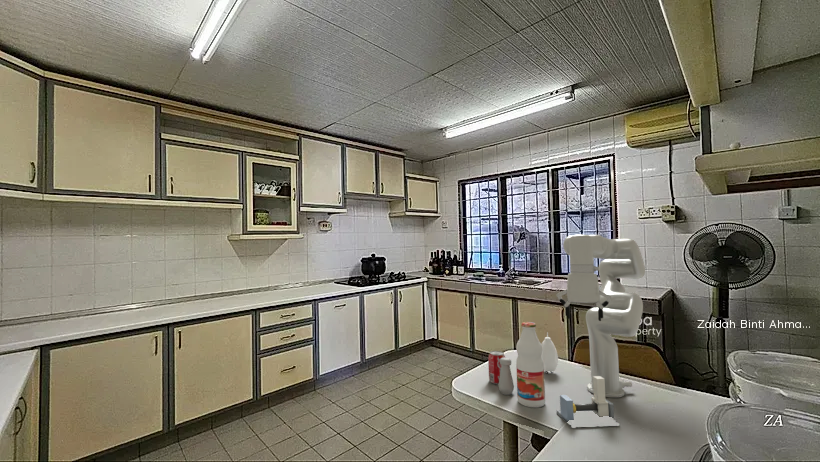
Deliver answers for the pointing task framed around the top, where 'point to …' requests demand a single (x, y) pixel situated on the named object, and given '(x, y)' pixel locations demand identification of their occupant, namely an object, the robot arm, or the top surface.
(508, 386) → the salt shaker
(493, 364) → the soda can
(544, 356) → the sauce bottle
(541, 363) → the fruit juice
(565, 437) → the top surface
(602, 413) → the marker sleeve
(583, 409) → the blue block with rod
